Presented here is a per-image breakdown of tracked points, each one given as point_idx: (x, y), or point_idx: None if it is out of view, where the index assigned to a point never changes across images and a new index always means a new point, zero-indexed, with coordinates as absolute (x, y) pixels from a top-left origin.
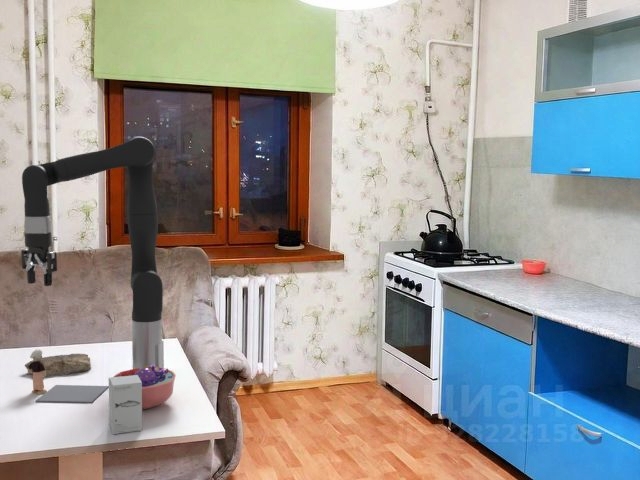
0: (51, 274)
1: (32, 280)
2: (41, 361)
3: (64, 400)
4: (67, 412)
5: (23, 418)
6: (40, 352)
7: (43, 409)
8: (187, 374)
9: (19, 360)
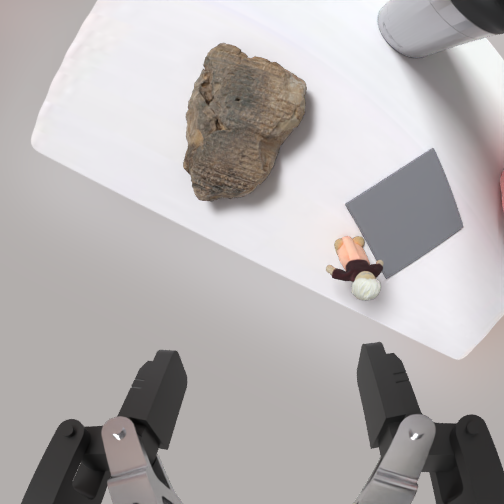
0: (418, 412)
1: (176, 378)
2: (229, 175)
3: (426, 249)
4: (455, 271)
5: (419, 318)
6: (380, 288)
7: (420, 286)
8: None
9: (103, 155)
